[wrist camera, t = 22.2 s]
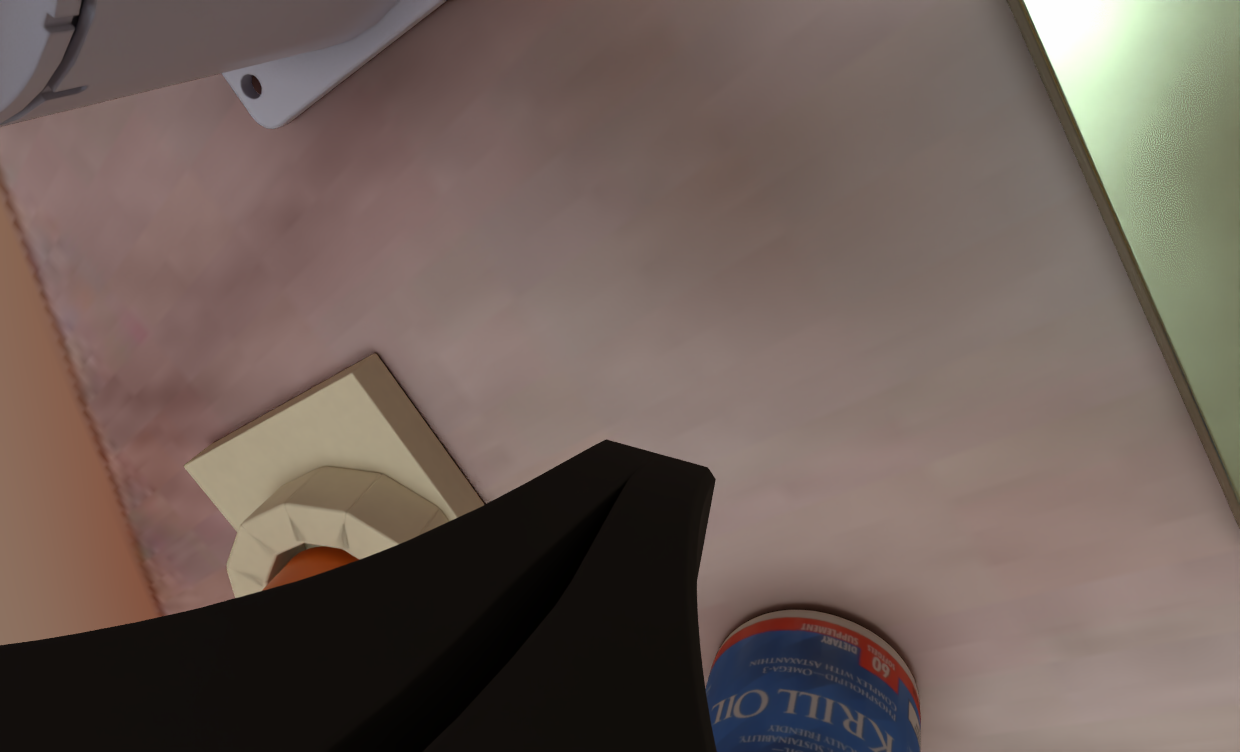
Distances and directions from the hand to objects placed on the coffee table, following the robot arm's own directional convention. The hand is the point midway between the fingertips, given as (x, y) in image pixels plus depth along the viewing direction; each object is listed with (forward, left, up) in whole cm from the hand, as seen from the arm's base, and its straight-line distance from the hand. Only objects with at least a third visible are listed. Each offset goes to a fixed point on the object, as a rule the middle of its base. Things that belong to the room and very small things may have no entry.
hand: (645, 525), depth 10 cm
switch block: (+3, -14, -10) cm, 17 cm away
